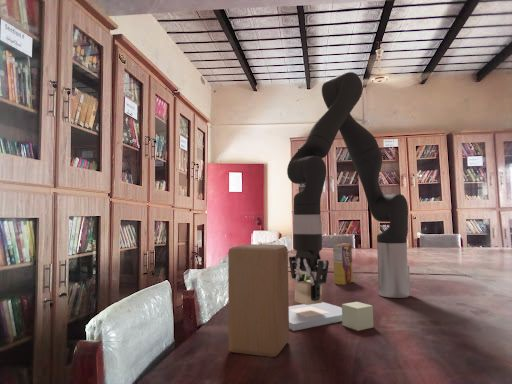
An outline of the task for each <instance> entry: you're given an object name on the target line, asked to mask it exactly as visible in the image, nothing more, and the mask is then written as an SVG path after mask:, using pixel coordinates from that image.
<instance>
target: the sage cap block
mask: <svg viewBox="0 0 512 384" xmlns="http://www.w3.org/2000/svg"><path fill="white" fill-rule="evenodd" d="M341 307H342V321H341V324H342V326H343V327H346V328H348V329H352V330H355V331H358V332H359V331H362V330H367V329H372V328H374V306H373V305H372V304H368V303H363V302H360V301H353V302H346V303H342V304H341Z"/></svg>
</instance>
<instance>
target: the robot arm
mask: <svg viewBox="0 0 512 384" xmlns="http://www.w3.org/2000/svg"><path fill="white" fill-rule="evenodd" d="M362 82H363V81H362V80H361V78H360V76H359V75H358V74H357V73H355V72H353V71H350V72H349V71H347V72H345V73H342V74H339V75H337V76H335V77H332V78H330V79H327V80H326V81H324V82H323V83H322V86H321V97H322V98H323V101H324V104H325V106H326V108H327V110H326V111H325V112H324V113H323V114H322V115H321V116H320V118H318V120H317V121H316V122H315V123H314V124H313V126H312V127H311V129H310V131H309V134H308V136H307V138H306V140H305V142H304V143H303V144H302V146H300V148H299V149H298V150H297V151H296V152H295V153H294V155H293V156H292V157H291V159H290V160H289V162H288V165H287V168H286V169H287V170H286V174H287V177H288V180H289V181H290V182H292V184H296V185H303V184H304V187H303V190H302V191H299V192H297V193H296V194H294V196H293V218H292V219H293V221H292V246H293V247H292V249H293V250H294V251H295V252H296V254H295V255H292V256H288V264H289V269H290V276H291V279H292V280H295V279H296V282H297V281H305V279H306V275H308V277H310V281H311V285H312V286H311V300H313V301H317V300H319V299H320V285H321V284H322V285H323V284H326V283H327V278H328V270H329V265H330V262H329V260H328V259H322V258H321V255H320V252H321V251H322V250H323V225H322V224H323V223H322V215H321V214H322V213H321V197H322V193H323V190H324V186H325V182H326V178H327V165H326V163H325V160H324V158H326V157H327V155H329V152H330V151H331V148H332V146H333V144H334V141H335V139H336V137H337V135H338V133H340V134H341V136H342V139H343V142H344V144H345V146H346V149H347V151H348V154H349V157H350V159H351V161H352V164H353V166H354V168H355V170H356V173H357V175H358V177H359V180H360V183H361V186H362V188H363V189H362V190H363V192H364V195H365V198H366V201H367V204H368V208H369V211H370V213H371V216H372V217H373V219H374V220H376V222H377V221H378V222H380V223H389V226H388V227H387V229H385V230H383V231H381V232H379V233H377V235H376V251H377V253H376V254H377V277H378V278H377V280H378V281H377V283H378V284H377V285H378V296H381V297H385V298H391V299H404V298H408V297H409V296H411V277H410V275H411V273H410V265H408V248H407V247H408V245H407V242H408V241H407V240H408V239H407V238H408V232H409V205H408V201H407V198H406V197H405V195H403V194H401V193H391V194H390V193H389V194H388V193H387V194H384V193H383V192H382V189H381V186H380V183H379V178H380V173H381V170H382V164H383V153H382V151H381V149H380V146H379V144H378V141H377V139H376V137H375V136H374V135H373V134H372V133H371V132H370V131H369V130H367V128H365V127H363V125H361V124H360V123H359V122H358V121H356V119H355V118H354V117H353V116H352V114H351V112H352V110H353V109H354V108H355V106H356V105H357V104H358V102H359V101H360V99H361V97H362V94H363V83H362ZM301 274H302V276H301Z"/></svg>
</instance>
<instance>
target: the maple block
mask: <svg viewBox="0 0 512 384" xmlns="http://www.w3.org/2000/svg"><path fill="white" fill-rule="evenodd" d="M311 286H312V285H311V281H310V280H306V281H297V282H295V281H294V302H296V303H299V304H301V305H302V304H305V305H311V304H317V303H322V302H323V284H321V285H320V299H319V300H317V301H313V300H311Z"/></svg>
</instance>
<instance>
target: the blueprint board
mask: <svg viewBox="0 0 512 384" xmlns="http://www.w3.org/2000/svg"><path fill="white" fill-rule="evenodd" d="M339 322H342V306H338V305H334V304H331V303H328V302H324V301H322V303H317V304H311V305H305V304H302V303H301V304H296V305H290V306H289V330H291V331H294V332H295V331H299V330H304V329H309V328H314V327H320V326H324V325H329V324H335V323H339Z"/></svg>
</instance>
